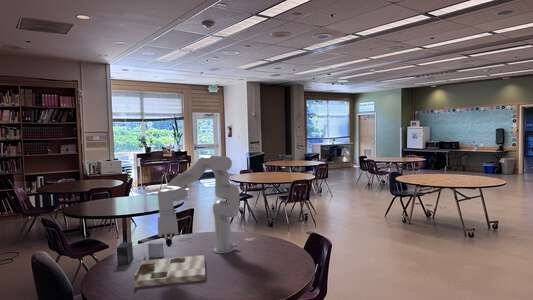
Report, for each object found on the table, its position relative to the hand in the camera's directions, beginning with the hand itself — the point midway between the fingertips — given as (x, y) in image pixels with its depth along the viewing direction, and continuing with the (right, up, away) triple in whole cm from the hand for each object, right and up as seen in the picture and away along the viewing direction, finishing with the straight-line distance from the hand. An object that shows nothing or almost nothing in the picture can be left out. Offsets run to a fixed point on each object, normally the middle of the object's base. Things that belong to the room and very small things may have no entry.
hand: (169, 246), depth 195 cm
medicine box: (-15, -14, +28) cm, 34 cm away
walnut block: (-11, -12, -2) cm, 16 cm away
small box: (-31, -15, +20) cm, 40 cm away
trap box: (+2, -14, 0) cm, 14 cm away
